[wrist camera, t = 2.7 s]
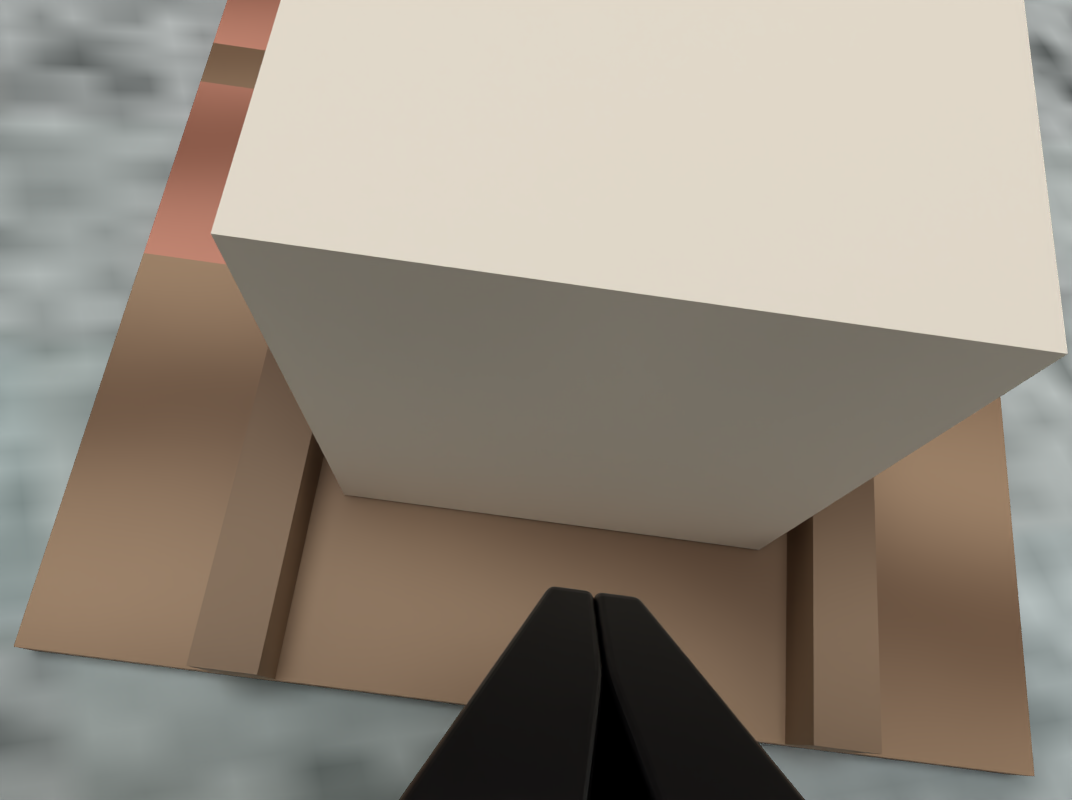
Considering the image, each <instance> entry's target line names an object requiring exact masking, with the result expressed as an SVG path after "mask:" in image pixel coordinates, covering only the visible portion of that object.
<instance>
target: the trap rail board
mask: <svg viewBox="0 0 1072 800" xmlns="http://www.w3.org/2000/svg"><path fill="white" fill-rule="evenodd" d="M280 1H281V0H227V3H226V6H225V9H224V12H223V15H222V18H221V21H220V24H219V27H218V31H217V34H216V37H215V40H214V43H213V46H212V49H211V52H210V55H209V58H208V61H207V64H206V67H205V70H204V73H203V76H202V79H201V82H200V85H199V88H198V91H197V94H196V97H195V100H194V103H193V106H192V109H191V112H190V115H189V118H188V121H187V124H186V127H185V130H184V133H183V136H182V139H181V142H180V145H179V148H178V151H177V154H176V157H175V160H174V163H173V166H172V169H171V172H170V176H169V179H168V182H167V185H166V188H165V191H164V194H163V197H162V200H161V203H160V206H159V209H158V212H157V215H156V218H155V221H154V224H153V227H152V230H151V233H150V236H149V239H148V242H147V245H146V248H145V251H144V254H143V257H142V260H141V263H140V266H139V269H138V272H137V275H136V278H135V281H134V284H133V287H132V290H131V293H130V296H129V299H128V302H127V305H126V308H125V311H124V314H123V317H122V320H121V324H120V327H119V330H118V333H117V336H116V339H115V342H114V345H113V348H112V351H111V354H110V357H109V360H108V363H107V366H106V369H105V372H104V375H103V378H102V381H101V384H100V387H99V390H98V393H97V396H96V399H95V402H94V405H93V408H92V411H91V414H90V417H89V420H88V423H87V426H86V429H85V432H84V435H83V438H82V441H81V444H80V447H79V450H78V453H77V456H76V459H75V462H74V465H73V469H72V472H71V475H70V478H69V481H68V484H67V487H66V490H65V493H64V496H63V499H62V502H61V505H60V508H59V511H58V514H57V517H56V520H55V523H54V526H53V529H52V532H51V535H50V538H49V541H48V544H47V547H46V550H45V553H44V556H43V559H42V562H41V565H40V568H39V571H38V574H37V577H36V580H35V583H34V586H33V589H32V592H31V595H30V598H29V601H28V604H27V607H26V610H25V613H24V617H23V620H22V623H21V626H20V629H19V632H18V635H17V638H16V641H15V644H14V647H19V648H24V649H29V650H35V651H43V652H51V653H59V654H66V655H74V656H82V657H90V658H98V659H106V660H114V661H122V662H129V663H137V664H145V665H153V666H161V667H169V668H177V669H184V670H192V671H200V672H208V673H216V674H224V675H232V676H240V677H247V678H255V679H263V680H271V681H279V682H287V683H295V684H303V685H310V686H318V687H326V688H334V689H342V690H350V691H358V692H366V693H373V694H381V695H389V696H397V697H405V698H413V699H421V700H429V701H436V702H444V703H452V704H460V705H466V704H467V702H468V701H469V700H470V698H471V697H472V695H473V694H474V693H475V691H476V690H477V688H478V687H479V685H480V684H481V683H482V681H483V680H484V678H485V677H486V675H487V674H488V673H489V671H490V670H491V668H492V667H493V666H494V664H495V663H496V661H497V660H498V658H499V657H500V656H501V654H502V653H503V651H504V650H505V648H506V647H507V646H508V644H509V643H510V641H511V640H512V639H513V637H514V636H515V634H516V633H517V631H518V630H519V629H520V627H521V626H522V624H523V623H524V621H525V620H526V619H527V617H528V616H529V614H530V613H531V612H532V610H533V609H534V607H535V606H536V604H537V603H538V602H539V600H540V599H541V597H542V596H543V594H544V593H545V592H546V590H548V589H549V588H550V587H554V586H555V587H563V588H571V589H578V590H585V591H588V592H590V593H591V594H592V596H593V598H594V597H595V595H596V594H598V593H608V594H616V595H624V596H632V597H636V598H638V599H639V600H641V601H642V602H643V604H644V605H645V606H646V607H647V608H648V610H649V611H650V612H651V613H652V614H653V616H654V617H655V618H656V619H657V621H658V622H659V623H660V624H661V625H662V627H663V628H664V629H665V630H666V631H667V633H668V634H669V635H670V636H671V638H672V639H673V640H674V641H675V642H676V644H677V645H678V646H679V647H680V649H681V650H682V651H683V652H684V653H685V655H686V656H687V657H688V658H689V659H690V661H691V662H692V663H693V664H694V666H695V667H696V668H697V669H698V670H699V672H700V673H701V674H702V675H703V676H704V678H705V679H706V680H707V681H708V683H709V684H710V685H711V686H712V687H713V689H714V690H715V691H716V692H717V693H718V695H719V696H720V697H721V698H722V700H723V701H724V702H725V703H726V704H727V706H728V707H729V708H730V709H731V711H732V712H733V713H734V714H735V715H736V717H737V718H738V719H739V720H740V721H741V723H742V724H743V725H744V726H745V728H746V729H747V730H748V731H749V732H750V734H751V735H752V736H753V737H754V738H755V740H756V741H757V742H759V743H767V744H775V745H783V746H791V747H799V748H806V749H814V750H822V751H830V752H838V753H846V754H854V755H862V756H869V757H877V758H885V759H893V760H901V761H909V762H917V763H925V764H932V765H940V766H948V767H956V768H964V769H972V770H980V771H988V772H995V773H1003V774H1011V775H1024V776H1034V767H1033V755H1032V744H1031V733H1030V722H1029V711H1028V700H1027V689H1026V677H1025V666H1024V655H1023V644H1022V633H1021V622H1020V611H1019V600H1018V588H1017V577H1016V566H1015V555H1014V544H1013V533H1012V522H1011V511H1010V499H1009V488H1008V477H1007V466H1006V455H1005V444H1004V433H1003V422H1002V410H1001V399H1000V397H999V398H997V399H996V400H994V401H993V402H991V403H989V404H988V405H986V406H985V407H983V408H982V409H980V410H978V411H977V412H975V413H974V414H972V415H971V416H969V417H967V418H966V419H964V420H963V421H961V422H960V423H958V424H956V425H955V426H953V427H952V428H950V429H949V430H947V431H945V432H944V433H942V434H941V435H939V436H938V437H936V438H934V439H933V440H931V441H930V442H928V443H927V444H925V445H923V446H922V447H920V448H919V449H917V450H915V451H914V452H912V453H911V454H909V455H908V456H906V457H904V458H903V459H901V460H900V461H898V462H897V463H895V464H893V465H892V466H890V467H889V468H887V469H886V470H884V471H882V472H881V473H879V474H878V475H876V476H875V477H873V478H871V479H870V480H868V481H867V482H865V483H864V484H862V485H860V486H859V487H857V488H856V489H854V490H853V491H851V492H849V493H848V494H846V495H845V496H843V497H842V498H840V499H838V500H837V501H835V502H834V503H832V504H831V505H829V506H827V507H826V508H824V509H823V510H821V511H819V512H818V513H816V514H815V515H813V516H812V517H810V518H808V519H807V520H805V521H804V522H802V523H801V524H799V525H797V526H796V527H794V528H793V529H791V530H790V531H788V532H786V533H785V534H783V535H782V536H780V537H779V538H777V539H775V540H774V541H772V542H771V543H769V544H768V545H766V546H764V547H763V548H761V549H760V550H756V549H749V548H741V547H734V546H726V545H719V544H711V543H704V542H696V541H689V540H681V539H674V538H666V537H659V536H651V535H643V534H636V533H628V532H621V531H613V530H606V529H598V528H591V527H583V526H576V525H568V524H561V523H553V522H546V521H538V520H531V519H523V518H516V517H508V516H501V515H493V514H486V513H478V512H471V511H463V510H455V509H448V508H440V507H433V506H425V505H418V504H410V503H403V502H395V501H388V500H380V499H373V498H365V497H358V496H350V495H344V493H343V491H342V489H341V487H340V485H339V483H338V481H337V479H336V477H335V475H334V474H333V472H332V470H331V468H330V466H329V464H328V462H327V460H326V458H325V456H324V454H323V452H322V450H321V448H320V446H319V444H318V442H317V440H316V438H315V436H314V434H313V433H312V431H311V429H310V427H309V425H308V423H307V421H306V419H305V417H304V415H303V413H302V411H301V409H300V407H299V405H298V403H297V401H296V399H295V397H294V395H293V393H292V392H291V390H290V388H289V386H288V384H287V382H286V380H285V378H284V376H283V374H282V372H281V370H280V368H279V366H278V364H277V362H276V360H275V358H274V356H273V354H272V352H271V351H270V349H269V347H268V345H267V343H266V341H265V339H264V337H263V335H262V333H261V331H260V329H259V327H258V325H257V323H256V321H255V319H254V317H253V315H252V313H251V311H250V309H249V308H248V306H247V304H246V302H245V300H244V298H243V296H242V294H241V292H240V290H239V288H238V286H237V284H236V282H235V280H234V278H233V276H232V274H231V272H230V270H229V268H228V267H227V265H226V263H225V261H224V259H223V257H222V255H221V253H220V251H219V249H218V247H217V245H216V243H215V241H214V239H213V237H212V235H211V231H212V227H213V224H214V221H215V217H216V214H217V211H218V207H219V204H220V201H221V197H222V194H223V191H224V187H225V184H226V181H227V177H228V174H229V171H230V167H231V164H232V161H233V157H234V154H235V151H236V147H237V144H238V141H239V137H240V134H241V131H242V127H243V124H244V121H245V117H246V114H247V111H248V107H249V104H250V101H251V98H252V94H253V91H254V88H255V84H256V81H257V78H258V74H259V71H260V68H261V64H262V61H263V58H264V54H265V51H266V48H267V44H268V41H269V38H270V34H271V31H272V28H273V24H274V21H275V18H276V14H277V11H278V8H279V4H280Z"/></svg>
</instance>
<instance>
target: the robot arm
mask: <svg viewBox="0 0 1072 800" xmlns="http://www.w3.org/2000/svg"><path fill="white" fill-rule="evenodd" d="M399 800H805V799H804V798H803V797H802V796H801V794H800V793H799V792H798V791H797V790H796V788H795V787H794V786H793V785H792V783H791V782H790V781H789V780H788V779H787V777H786V776H785V775H784V774H783V772H782V771H781V770H780V769H779V768H778V766H777V765H776V764H775V763H774V762H773V760H772V759H771V758H770V757H769V755H768V754H767V753H766V752H765V751H764V749H763V748H762V747H761V746H760V745H759V743H758V742H757V741H756V740H755V738H754V737H753V736H752V735H751V734H750V732H749V731H748V730H747V729H746V728H745V726H744V725H743V724H742V723H741V721H740V720H739V719H738V718H737V717H736V715H735V714H734V713H733V712H732V711H731V709H730V708H729V707H728V706H727V704H726V703H725V702H724V701H723V700H722V698H721V697H720V696H719V695H718V693H717V692H716V691H715V690H714V689H713V687H712V686H711V685H710V684H709V683H708V681H707V680H706V679H705V678H704V676H703V675H702V674H701V673H700V672H699V670H698V669H697V668H696V667H695V666H694V664H693V663H692V662H691V661H690V659H689V658H688V657H687V656H686V655H685V653H684V652H683V651H682V650H681V649H680V647H679V646H678V645H677V644H676V642H675V641H674V640H673V639H672V638H671V636H670V635H669V634H668V633H667V631H666V630H665V629H664V628H663V627H662V625H661V624H660V623H659V622H658V621H657V619H656V618H655V617H654V616H653V614H652V613H651V612H650V611H649V610H648V608H647V607H646V606H645V605H644V604H643V602H642V601H641V600H639V599H638V598H636V597H632V596H624V595H616V594H608V593H598V594H596V595H595V597H594V598H593V596H592V594H591V593H590V592H588V591H585V590H578V589H571V588H563V587H555V586H554V587H550V588H549V589H548V590H546V592H545V593H544V594H543V596H542V597H541V599H540V600H539V602H538V603H537V604H536V606H535V607H534V609H533V610H532V612H531V613H530V614H529V616H528V617H527V619H526V620H525V621H524V623H523V624H522V626H521V627H520V629H519V630H518V631H517V633H516V634H515V636H514V637H513V639H512V640H511V641H510V643H509V644H508V646H507V647H506V648H505V650H504V651H503V653H502V654H501V656H500V657H499V658H498V660H497V661H496V663H495V664H494V666H493V667H492V668H491V670H490V671H489V673H488V674H487V675H486V677H485V678H484V680H483V681H482V683H481V684H480V685H479V687H478V688H477V690H476V691H475V693H474V694H473V695H472V697H471V698H470V700H469V701H468V702H467V704H466V705H465V707H464V708H463V710H462V711H461V712H460V714H459V715H458V717H457V718H456V720H455V721H454V722H453V724H452V725H451V727H450V728H449V729H448V731H447V732H446V734H445V735H444V737H443V738H442V739H441V741H440V742H439V744H438V745H437V747H436V748H435V749H434V751H433V752H432V754H431V755H430V756H429V758H428V759H427V761H426V762H425V764H424V765H423V766H422V768H421V769H420V771H419V772H418V774H417V775H416V776H415V778H414V779H413V781H412V782H411V783H410V785H409V786H408V788H407V789H406V791H405V792H404V793H403V795H402V796H401V798H400V799H399Z"/></svg>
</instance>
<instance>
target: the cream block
mask: <svg viewBox="0 0 1072 800" xmlns="http://www.w3.org/2000/svg"><path fill="white" fill-rule="evenodd" d="M211 235H212V237H213V239H214V241H215V243H216V245H217V247H218V249H219V251H220V253H221V255H222V257H223V259H224V261H225V263H226V265H227V267H228V268H229V270H230V272H231V274H232V276H233V278H234V280H235V282H236V284H237V286H238V288H239V290H240V292H241V294H242V296H243V298H244V300H245V302H246V304H247V306H248V308H249V309H250V311H251V313H252V315H253V317H254V319H255V321H256V323H257V325H258V327H259V329H260V331H261V333H262V335H263V337H264V339H265V341H266V343H267V345H268V347H269V349H270V351H271V352H272V354H273V356H274V358H275V360H276V362H277V364H278V366H279V368H280V370H281V372H282V374H283V376H284V378H285V380H286V382H287V384H288V386H289V388H290V390H291V392H292V393H293V395H294V397H295V399H296V401H297V403H298V405H299V407H300V409H301V411H302V413H303V415H304V417H305V419H306V421H307V423H308V425H309V427H310V429H311V431H312V433H313V434H314V436H315V438H316V440H317V442H318V444H319V446H320V448H321V450H322V452H323V454H324V456H325V458H326V460H327V462H328V464H329V466H330V468H331V470H332V472H333V474H334V475H335V477H336V479H337V481H338V483H339V485H340V487H341V489H342V491H343V493H344V495H350V496H358V497H365V498H373V499H380V500H388V501H395V502H403V503H410V504H418V505H425V506H433V507H440V508H448V509H455V510H463V511H471V512H478V513H486V514H493V515H501V516H508V517H516V518H523V519H531V520H538V521H546V522H553V523H561V524H568V525H576V526H583V527H591V528H598V529H606V530H613V531H621V532H628V533H636V534H643V535H651V536H659V537H666V538H674V539H681V540H689V541H696V542H704V543H711V544H719V545H726V546H734V547H741V548H749V549H756V550H760V549H761V548H763V547H764V546H766V545H768V544H769V543H771V542H772V541H774V540H775V539H777V538H779V537H780V536H782V535H783V534H785V533H786V532H788V531H790V530H791V529H793V528H794V527H796V526H797V525H799V524H801V523H802V522H804V521H805V520H807V519H808V518H810V517H812V516H813V515H815V514H816V513H818V512H819V511H821V510H823V509H824V508H826V507H827V506H829V505H831V504H832V503H834V502H835V501H837V500H838V499H840V498H842V497H843V496H845V495H846V494H848V493H849V492H851V491H853V490H854V489H856V488H857V487H859V486H860V485H862V484H864V483H865V482H867V481H868V480H870V479H871V478H873V477H875V476H876V475H878V474H879V473H881V472H882V471H884V470H886V469H887V468H889V467H890V466H892V465H893V464H895V463H897V462H898V461H900V460H901V459H903V458H904V457H906V456H908V455H909V454H911V453H912V452H914V451H915V450H917V449H919V448H920V447H922V446H923V445H925V444H927V443H928V442H930V441H931V440H933V439H934V438H936V437H938V436H939V435H941V434H942V433H944V432H945V431H947V430H949V429H950V428H952V427H953V426H955V425H956V424H958V423H960V422H961V421H963V420H964V419H966V418H967V417H969V416H971V415H972V414H974V413H975V412H977V411H978V410H980V409H982V408H983V407H985V406H986V405H988V404H989V403H991V402H993V401H994V400H996V399H997V398H999V397H1000V396H1002V395H1004V394H1005V393H1007V392H1008V391H1010V390H1011V389H1013V388H1015V387H1016V386H1018V385H1019V384H1021V383H1022V382H1024V381H1026V380H1027V379H1029V378H1030V377H1032V376H1034V375H1035V374H1037V373H1038V372H1040V371H1041V370H1043V369H1045V368H1046V367H1048V366H1049V365H1051V364H1052V363H1054V362H1056V361H1057V360H1059V359H1060V358H1062V357H1063V356H1065V355H1067V354H1068V353H1067V345H1066V337H1065V329H1064V321H1063V313H1062V304H1061V296H1060V288H1059V280H1058V272H1057V264H1056V256H1055V248H1054V240H1053V232H1052V224H1051V216H1050V207H1049V199H1048V191H1047V183H1046V175H1045V167H1044V159H1043V151H1042V143H1041V135H1040V127H1039V119H1038V110H1037V102H1036V94H1035V86H1034V78H1033V70H1032V62H1031V54H1030V46H1029V38H1028V30H1027V22H1026V13H1025V5H1024V0H281V1H280V4H279V8H278V11H277V14H276V18H275V21H274V24H273V28H272V31H271V34H270V38H269V41H268V44H267V48H266V51H265V54H264V58H263V61H262V64H261V68H260V71H259V74H258V78H257V81H256V84H255V88H254V91H253V94H252V98H251V101H250V104H249V107H248V111H247V114H246V117H245V121H244V124H243V127H242V131H241V134H240V137H239V141H238V144H237V147H236V151H235V154H234V157H233V161H232V164H231V167H230V171H229V174H228V177H227V181H226V184H225V187H224V191H223V194H222V197H221V201H220V204H219V207H218V211H217V214H216V217H215V221H214V224H213V227H212V231H211Z"/></svg>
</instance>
